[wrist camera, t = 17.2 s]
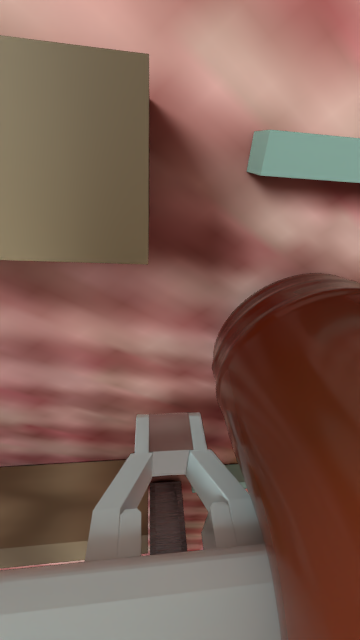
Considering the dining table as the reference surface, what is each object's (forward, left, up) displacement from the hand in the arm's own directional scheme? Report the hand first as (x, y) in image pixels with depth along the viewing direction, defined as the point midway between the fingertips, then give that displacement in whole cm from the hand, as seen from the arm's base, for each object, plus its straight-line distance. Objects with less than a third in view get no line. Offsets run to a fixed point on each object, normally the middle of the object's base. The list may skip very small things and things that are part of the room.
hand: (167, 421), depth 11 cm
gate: (0, -19, -2) cm, 19 cm away
